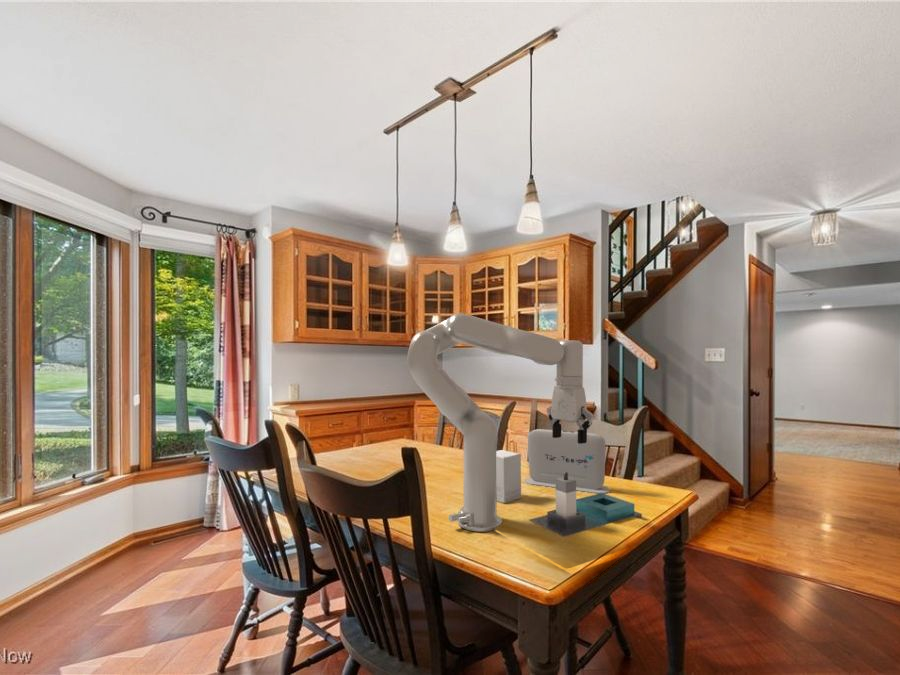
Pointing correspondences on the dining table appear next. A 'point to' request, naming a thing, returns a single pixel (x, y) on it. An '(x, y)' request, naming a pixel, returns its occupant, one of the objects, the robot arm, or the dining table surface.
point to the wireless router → (567, 460)
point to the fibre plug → (566, 496)
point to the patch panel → (588, 515)
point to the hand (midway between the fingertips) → (569, 440)
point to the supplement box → (508, 476)
